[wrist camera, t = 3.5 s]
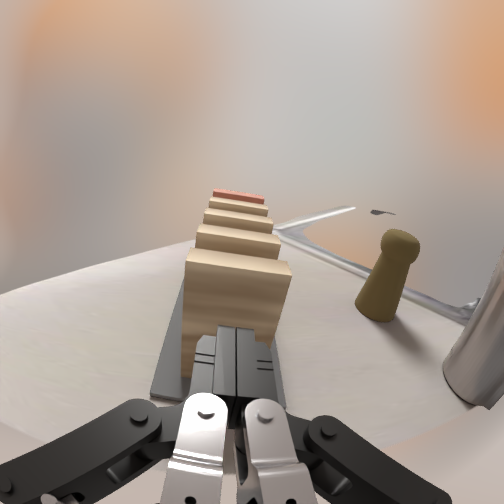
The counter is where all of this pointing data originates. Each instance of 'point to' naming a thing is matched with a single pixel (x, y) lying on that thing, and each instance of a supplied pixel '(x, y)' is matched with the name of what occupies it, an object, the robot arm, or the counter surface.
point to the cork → (388, 276)
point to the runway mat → (169, 363)
